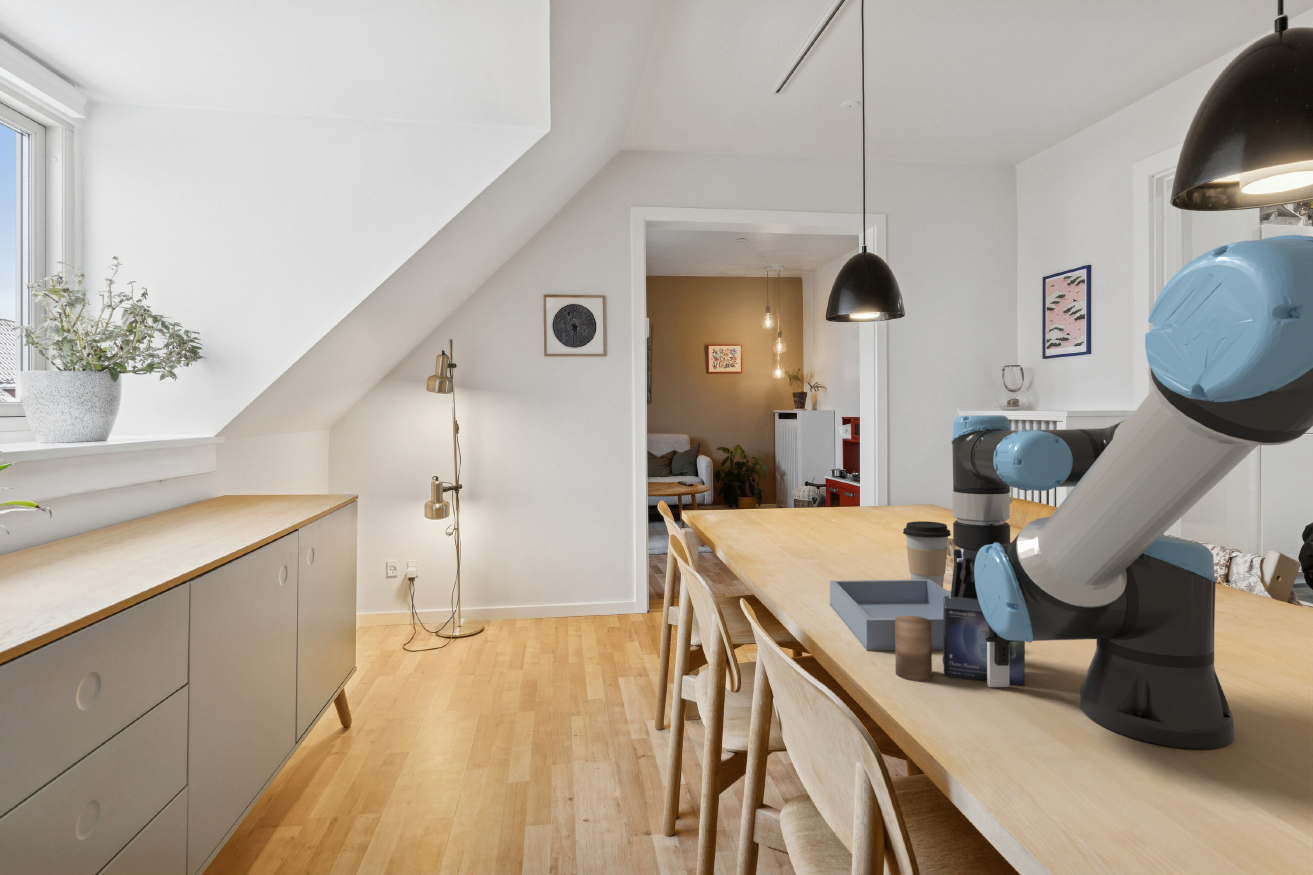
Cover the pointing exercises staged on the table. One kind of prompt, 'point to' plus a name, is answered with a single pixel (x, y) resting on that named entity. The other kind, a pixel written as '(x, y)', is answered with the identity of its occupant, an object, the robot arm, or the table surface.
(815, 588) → the table surface
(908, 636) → the walnut cylinder
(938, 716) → the table surface
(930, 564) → the coffee cup
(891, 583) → the tray
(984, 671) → the small box
